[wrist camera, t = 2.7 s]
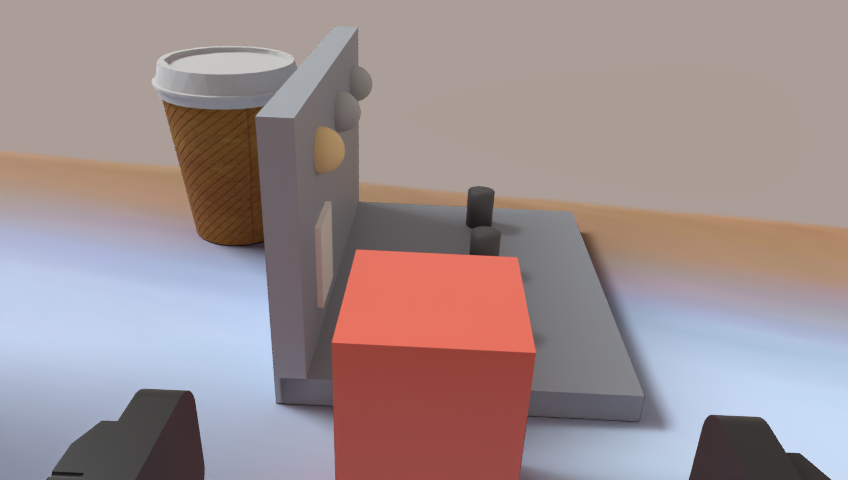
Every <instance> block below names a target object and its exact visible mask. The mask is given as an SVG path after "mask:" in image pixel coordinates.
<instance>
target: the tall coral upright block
mask: <svg viewBox="0 0 848 480" xmlns="http://www.w3.org/2000/svg"><path fill="white" fill-rule="evenodd" d="M535 357H536V350H535V345H534V340H533V335H532V329H531V324H530V319H529V314H528V309H527V303H526V298H525V293H524V288H523V283H522V277H521V272H520V267H519V262H518V257H500V256H480V255H459V254H438V253H418V252H397V251H377V250H356V252H355V256H354V260H353V264H352V268H351V271H350V275H349V279H348V283H347V287H346V290H345V294H344V298H343V302H342V306H341V309H340V313H339V317H338V321H337V325H336V328H335V332H334V336H333V340H332V372H333V410H334V448H335V480H519V476H520V468H521V461H522V454H523V446H524V439H525V431H526V424H527V416H528V409H529V401H530V394H531V387H532V379H533V372H534V364H535Z"/></svg>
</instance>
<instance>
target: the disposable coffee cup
mask: <svg viewBox="0 0 848 480" xmlns="http://www.w3.org/2000/svg"><path fill="white" fill-rule="evenodd" d="M296 70H297V67H296V63H295V59H294V58H293V56H292V55H290V54H288V53H286V52H283V51H278V50H273V49H267V48H260V47H246V46H245V47H244V46H215V47H201V48H191V49H186V50H180V51H175V52H172V53H168V54H165V55H163V56H161V57H160V58H159V60H158V61H157V69H156V76H155V77H154V78H153V79H152V85H153V87H154V89H156V90H157V92H158V96H159V97H160V98H161V99H162V101H163V104H164V107H165V112H166V115H167V119H168V123H169V126H170V131H171V134H172V139H173V142H174V145H175V150H176V153H177V157H178V161H179V165H180V168H181V173H182V176H183V179H184V184H185V187H186V191H187V194H188V199H189V202H190V206H191V210H192V214H193V217H194V221H195V225H196V229H197V233H198V234H199V235H200V236H201V237H202V238H204V239H205V240H207V241H210V242H214V243H218V244H225V245H245V244H252V243H257V242H262V241H264V231H263V218H262V204H261V190H260V177H259V163H258V149H257V135H256V122H255V116H256V115H257V114H258V113H259V112H260V110H261V109H262V108H263V107H264V106H265V105H266V104H267V103H268V101H269V100H270V99H271V98H272V97H273V96H274V95H275V94H276V92H277V91H278V90H279V89H280V88H281V87H282V86H283V85H284V83H285V82H286V81H287V80H288V79H289V78H290V77H291V76H292V74H293V73H294V72H295V71H296Z"/></svg>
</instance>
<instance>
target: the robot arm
mask: <svg viewBox="0 0 848 480" xmlns="http://www.w3.org/2000/svg"><path fill="white" fill-rule="evenodd" d="M46 480H204V459H203V452H202V445H201V438H200V432H199V425H198V418H197V411H196V404H195V399H194V396H193V394H192V393H191V392H190V391H182V390H158V389H141V390H139V391H138V392H137V393H136V394H135V395H134V397H133V398H132V400H131V402H130V403H129V405H128V406H127V408H126V409H125V411H124V412H123V414H122V415H121V417H120V418H119V420H118V421H101V422H100V423H98V424H97V425H96V426H94V427H93V428H92V429H90V430H89V431H88V432H86V433H85V434H84V435H83V436H81V437H80V438H79V439H77V440H76V441H75V442H73V443H72V444H71V445H70V447H69V448H68V450H67V451H66V453H65V454H64V455H63V457H62V458H61V460H60V461H59V462H58V464H57V465H56V467H55V468H54V470H53V471H52V476H51V477H48V478H47V479H46ZM689 480H831V479H830V478H828V477H827V476H826V475H825V474H824V473H823V472H821V471H820V470H819V469H818V468H817V467H815V466H814V465H813V464H812V463H811V462H810V461H808V460H807V459H806V458H805V457H804V456H802V455H801V454H800V453H786V452H785V451H784V449H783V447H782V446H781V444H780V443H779V441H778V439H777V438H776V436H775V435H774V433H773V431H772V430H771V428H770V426H769V425H768V424H767V422H766V421H765V420H764V419H762V418H760V417H746V416H723V415H710V416H708V417H707V418H706V420H705V422H704V424H703V427H702V431H701V435H700V439H699V443H698V447H697V451H696V454H695V458H694V462H693V466H692V470H691V474H690V478H689Z"/></svg>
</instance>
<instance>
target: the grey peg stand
mask: <svg viewBox="0 0 848 480" xmlns="http://www.w3.org/2000/svg"><path fill="white" fill-rule="evenodd" d="M371 89H372V79H371V76H370V74H369V73H368V72H367V71H366V70H365V69H364V68H362V67H359V66H358V27H341V26H335V27H334V28H333V29H332V30H331V32H330V33H329V34H328V35H327V36H326V37H325V38H324V40H323V41H322V42H321V43H320V44H319V45H318V46H317V47H316V49H315V50H314V51H313V52H312V53H311V54H310V55H309V56H308V58H307V59H306V60H305V61H304V62H303V63H302V64H301V65H300V67H299V68H298V69H297V70H296V71H295V72H294V73H293V74H292V76H291V77H290V78H289V79H288V80H287V81H286V82H285V83H284V85H283V86H282V87H281V88H280V89H279V90H278V91H277V92H276V94H275V95H274V96H273V97H272V98H271V99H270V100H269V101H268V103H267V104H266V105H265V106H264V107H263V108H262V109H261V110H260V112H259V113H258V114H257V115H256V116H255V122H256V135H257V149H258V163H259V177H260V190H261V204H262V218H263V231H264V245H265V259H266V272H267V286H268V300H269V313H270V327H271V341H272V354H273V368H274V382H275V395H276V403H288V404H307V405H327V406H333V372H332V340H333V336H334V332H335V328H336V325H337V321H338V317H339V313H340V309H341V306H342V302H343V298H344V294H345V290H346V287H347V283H348V279H349V275H350V271H351V268H352V264H353V260H354V256H355V252H356V250H377V251H397V252H418V253H438V254H459V255H480V256H500V257H518V262H519V267H520V272H521V277H522V283H523V288H524V293H525V298H526V303H527V309H528V314H529V319H530V324H531V329H532V335H533V340H534V345H535V350H536V357H535V364H534V372H533V379H532V387H531V394H530V401H529V409H528V416H542V417H561V418H581V419H600V420H620V421H639V420H640V415H641V411H642V406H643V402H644V398H645V396H644V393H643V391H642V388H641V385H640V383H639V380H638V378H637V375H636V373H635V370H634V368H633V365H632V363H631V360H630V358H629V355H628V352H627V350H626V347H625V345H624V342H623V340H622V337H621V335H620V332H619V330H618V327H617V325H616V322H615V320H614V317H613V314H612V312H611V309H610V307H609V304H608V302H607V299H606V297H605V294H604V292H603V289H602V287H601V284H600V281H599V279H598V276H597V274H596V271H595V269H594V266H593V264H592V261H591V259H590V256H589V254H588V251H587V248H586V246H585V243H584V241H583V238H582V236H581V233H580V231H579V228H578V226H577V223H576V221H575V218H574V216H573V213H572V212H565V211H544V210H523V209H502V208H493V204H494V193H495V192H494V191H493V190H492V189H490V188H487V187H480V186H479V187H472V188H470V189H469V190H468V200H467V207H460V206H439V205H418V204H397V203H376V202H359V150H358V149H359V134H358V121H359V119H360V114H361V109H360V105H359V103H358V101H360V100H363V99H364V98H366V97H367V96H368V95H369V93H370V92H371Z"/></svg>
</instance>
